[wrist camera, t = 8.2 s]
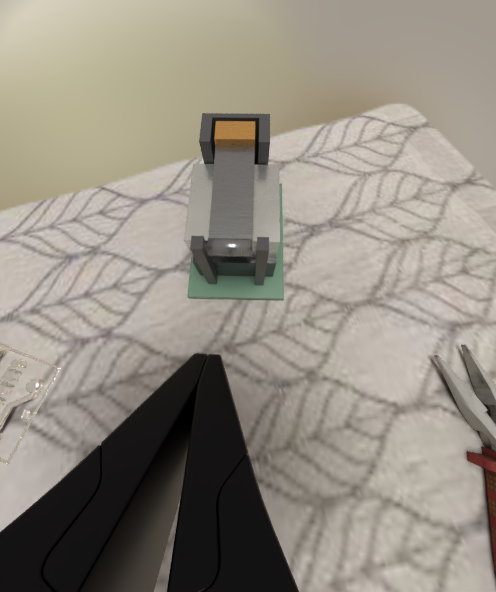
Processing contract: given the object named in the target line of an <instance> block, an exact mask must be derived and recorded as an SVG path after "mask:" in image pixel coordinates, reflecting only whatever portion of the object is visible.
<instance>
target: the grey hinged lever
mask: <svg viewBox="0 0 496 592" xmlns="http://www.w3.org/2000/svg"><path fill="white" fill-rule="evenodd" d="M214 139H215V145H216V146H215V159H214V172H213V185H212V198H211V211H210V225H209V238H208V241H207V252H208V255H209V256H243V257H252V245H253V202H254V159H255V121H216V125H215V138H214Z"/></svg>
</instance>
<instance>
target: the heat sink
mask: <svg viewBox="0 0 496 592" xmlns="http://www.w3.org/2000/svg"><path fill="white" fill-rule="evenodd" d="M213 172H214V164H193V170H192V178H191V187H190V195H189V204H188V212H187V221H186V229H185V238H184V241H185V242H186V244H187V246H188V248H189V250H190V245H191V236H204V239H205V241H206V244H207V241H208V238H209V225H210V211H211V198H212V185H213ZM257 237H269V254H268V260H267V267H266V273H265V277H273V274H274V270H275V267H276V257H277V253H278V249H279V245H280V196H279V165H254V202H253V245H252V257H243V256H211V258H212V260H213V264H214V267H215V270H216V272H217V275H218V276H255V269H256V249H257ZM190 252H191V250H190ZM191 254H192V252H191ZM192 256H193V254H192ZM193 264H194V265H195V267H196V269H197V271H198V272H199V274H200V275H204V274H203V273H202V271H201V269H200V267H199V265H198V263H197V261H196V259H195V257H194V256H193Z"/></svg>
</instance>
